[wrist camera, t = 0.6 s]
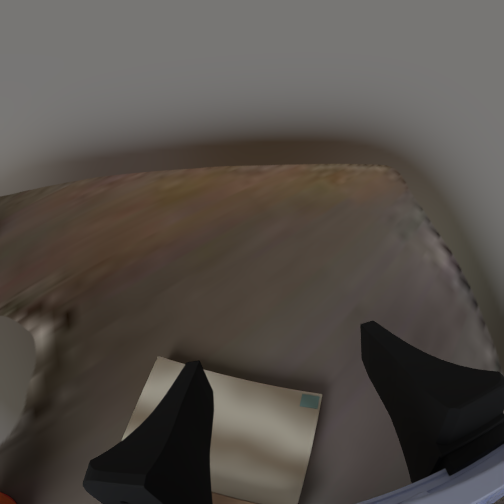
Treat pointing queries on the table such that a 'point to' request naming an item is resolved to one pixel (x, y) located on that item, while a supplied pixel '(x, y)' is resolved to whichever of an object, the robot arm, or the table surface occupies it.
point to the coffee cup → (6, 499)
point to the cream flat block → (247, 433)
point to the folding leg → (228, 499)
